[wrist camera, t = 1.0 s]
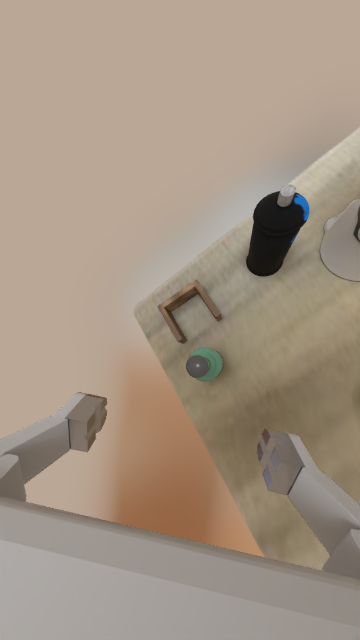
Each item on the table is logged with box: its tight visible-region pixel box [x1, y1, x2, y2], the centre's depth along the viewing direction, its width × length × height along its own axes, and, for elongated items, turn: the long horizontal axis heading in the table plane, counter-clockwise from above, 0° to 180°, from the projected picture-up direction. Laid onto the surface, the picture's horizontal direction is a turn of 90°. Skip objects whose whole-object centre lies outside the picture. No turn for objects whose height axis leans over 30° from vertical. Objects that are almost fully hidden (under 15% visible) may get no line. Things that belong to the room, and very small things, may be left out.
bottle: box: [186, 348, 224, 382], centre depth 34 cm, size 6×6×20 cm
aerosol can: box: [246, 185, 309, 276], centre depth 35 cm, size 8×8×20 cm
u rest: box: [158, 280, 222, 343], centre depth 44 cm, size 11×10×5 cm
